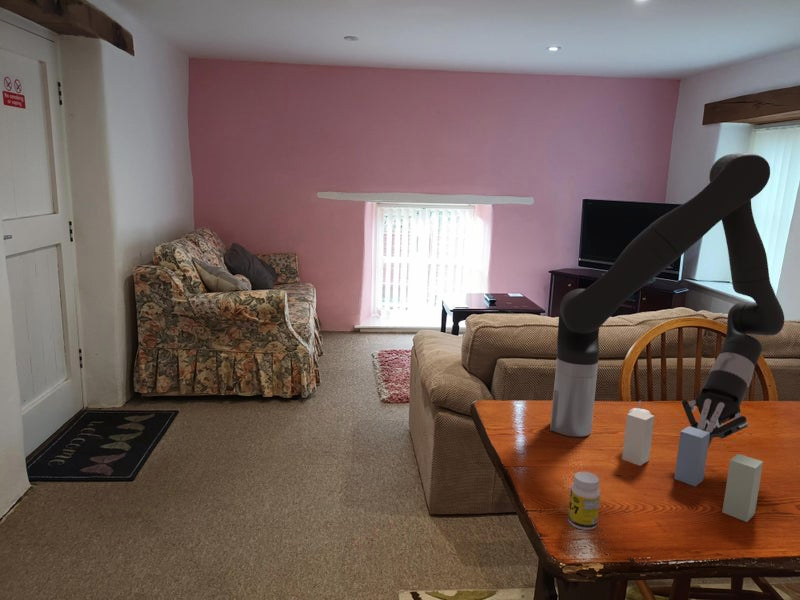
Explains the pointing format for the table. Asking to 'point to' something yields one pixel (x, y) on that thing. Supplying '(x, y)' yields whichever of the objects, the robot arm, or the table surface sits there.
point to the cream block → (638, 437)
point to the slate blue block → (692, 455)
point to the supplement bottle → (584, 501)
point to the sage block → (742, 487)
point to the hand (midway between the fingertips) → (697, 449)
